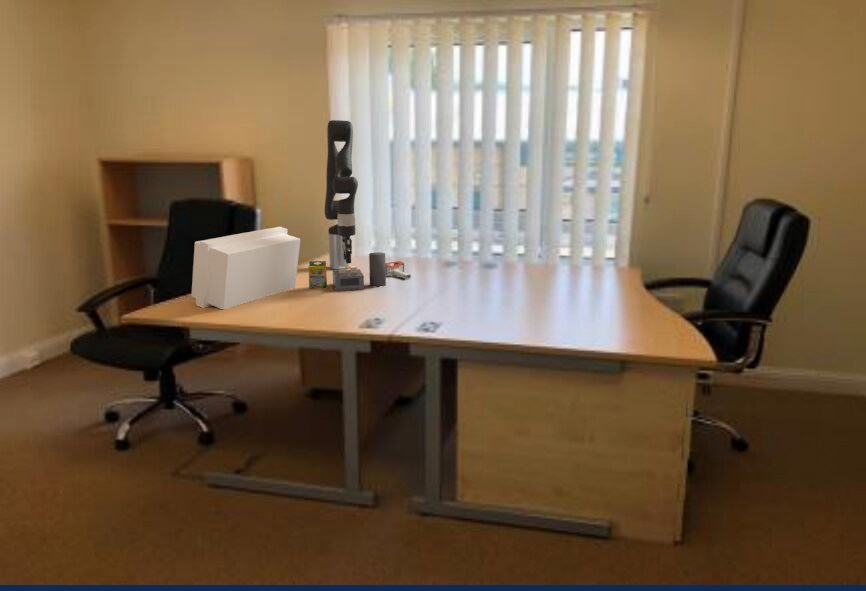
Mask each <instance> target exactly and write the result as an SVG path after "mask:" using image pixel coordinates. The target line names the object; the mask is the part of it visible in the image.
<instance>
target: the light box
mask: <svg viewBox="0 0 866 591" xmlns="http://www.w3.org/2000/svg"><path fill="white" fill-rule="evenodd" d="M300 245H301V238H299V237H296V236H293V235H290V234H288V228H285V227H284V226H276V227H270V228H263V229H258V230H252V231H249V232H241V233H237V234H231V235H225V236H221V237H215V238H208V239H204V240H198V241H197V240H196V241H194V249H193V250H194V253H193V265H192V282H191V283H192V285H191V295H190V296H191V297H192V298H195V305H196V306H198V307H200V308H202V309H205V307H206V308H209V307H213V306H214V307H216V308H217V309H220V310H222V309H225V310H228V309H231V308H230V307H232V308H234V307H233V306H235V307H238V306H241V305H244V304H243V303H245V304H247V303H246V302H248V303H250V302H249V301H251V302H254V301H253V300H255V299H258V300H260V299H259V298H261V299H263V298H262V297H264V298H266V297H265V296H268V295H271V294H274V293H277V294H279V293H278V292H281V291H284V292H286V291H285V290H287V291H289V290H288V289H291V288H294V289H295V288H296V283H297V282H296V281H297V274H298V263H299V256H300ZM291 290H292V289H291ZM281 293H282V292H281ZM274 295H275V294H274ZM271 296H272V295H271ZM268 297H269V296H268ZM255 301H256V300H255ZM240 304H241V305H240ZM237 305H238V306H237ZM227 308H228V309H227Z"/></svg>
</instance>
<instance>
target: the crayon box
mask: <svg viewBox="0 0 866 591" xmlns="http://www.w3.org/2000/svg"><path fill="white" fill-rule="evenodd" d="M308 262H309V263H308V264H309V266H308V286H309V288H326V287H327V288H328V279H327V261H324V260H313V261H312V260H310V261H308ZM317 263H318V264H317ZM309 288H308V289H309ZM327 288H326V289H327Z"/></svg>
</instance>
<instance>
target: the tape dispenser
mask: <svg viewBox="0 0 866 591" xmlns="http://www.w3.org/2000/svg"><path fill="white" fill-rule="evenodd" d="M391 264H393V265H391ZM385 269H386V276H387V275H388V273H390V274H389V275H390V276H394V277H400V279H403V280H405V279H408V280H411V277H412V275H411V273H407V272H405V263H404V262H402V261H401V260H398V261H390V262H385ZM390 276H389V277H390Z"/></svg>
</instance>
